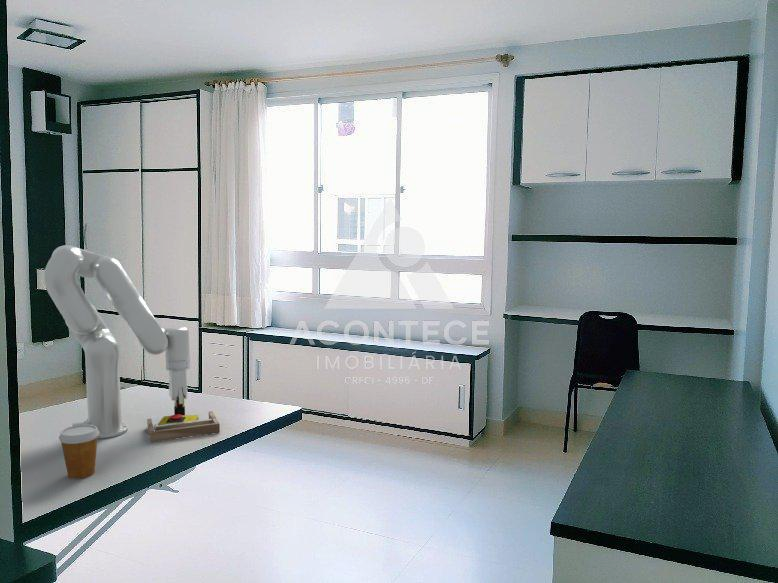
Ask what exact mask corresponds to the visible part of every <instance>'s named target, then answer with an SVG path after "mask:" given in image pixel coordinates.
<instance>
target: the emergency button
mask: <svg viewBox="0 0 778 583" xmlns="http://www.w3.org/2000/svg"><path fill="white" fill-rule="evenodd" d="M198 420H200V419H199V415H198V414H187V415H186V414H185V415H179V414H177V415H174V414H172V415H164V416H163V417H162V418H161V419H160V420H159V422H158V423H157V426H158V425H166V424H174V423H182V422H190V421H198Z"/></svg>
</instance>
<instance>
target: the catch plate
mask: <svg viewBox="0 0 778 583" xmlns="http://www.w3.org/2000/svg"><path fill="white" fill-rule="evenodd" d="M204 424H212V419H209V418H207V419H206V418H205V419H199V420H198V421H190V422H182V423H174V424H166V425H158V424H157V425H155V426H154V430H155V431H157V430H165V429H173V428H181V427H189V426H196V425H204Z"/></svg>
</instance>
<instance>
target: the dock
mask: <svg viewBox="0 0 778 583" xmlns="http://www.w3.org/2000/svg"><path fill="white" fill-rule="evenodd" d="M208 419H212V424H204V425H196V426H189V427H181V428H173V429H165V430H157V431H154V430H155V427H154V425H153V424H154V423H153V421H152V418H147V419H146V420H147V422H146V423H147V424H146V425H147V432H148V435H149V436H150V437H149V440H150V443H154V442H155V441H156V442H163V441H162V440H164V441H169V440H170V439H171V440H177V438H179V439H184V438H183V437H186V438H190V436H194V437H198V436H197V435H201V436H205V434H208V435H213V434H212V433H216V434H220V433H219V432H220V430H221V429H220V428H221V427H220V423H219V420H218V419H217V416H216V415H215V414H214V412H213V411H208ZM156 442H155V443H156Z"/></svg>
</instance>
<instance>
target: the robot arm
mask: <svg viewBox="0 0 778 583" xmlns="http://www.w3.org/2000/svg"><path fill="white" fill-rule="evenodd" d="M43 275H44V277H43V281H44V286H45V289H46V292H47V293H48V295H49V297H50V298H51V300H52V301H53V303H54V305H55V306H56V309H57V310H58V311H59V313H60V314H61V316H62V318H63V320H64V321H65V324H66V326H67V327H68V329H69V330H70V331H71V332H72V334H73V336H74V337H75V339H76V340H77V342H78V343H79V345H80V346H81V348H82V349H83V351H84V357H85V360H84V361H85V381H86V382H85V384H86V399H87V401H86V402H87V418H86V419H87V420H83V421H82V422H79V421H78V422H72V426H77V425H94V426H96V427H97V429H98V431H99V435H98V438H97V440H98V439H109V438H114V437H117V436H120V435H122V433H123V434H124V433H126V432H127V431H128V425H127V424H125V423H123V422H122V421H123V420H122V419H123V418H122V417H123V416H122V401H121V399H122V398H121V395H122V394H121V381H120V380H121V377H120V358H121V356H120V355H121V353H120V352H121V351H120V347H119V342H118V341H117V339H116V338H115V337H114V335H113V334H112V332H111V331H110V329H109V327H108V326H107V325H106V322H105V321H104V320H103V318H102V316H101V315H100V313H99V312H98V310H97V308H96V307H95V306H94V305H93V303H91V302H90V300H89V298H88V297H87V296H86V293H85V292H84V290H83V288H82V287H81V285H80V284H79V282H78V278H77V277H81V278H86V279H89V280H94V281H96V282H97V284H99V286H100V288H101V289H102V291H103V292H104V294H105V296H106V297H107V299H108V300H109V301H110V303H111V305H112V306H113V307H114V310H115V311H116V312H117V313H118V315H119V316H120V317H121V318H122V319H123V320H124V321H125V323H126V324H127V325H128V326H129V328H130V330H132V332H133V333H134V335H135V336H136V338H137V340H138V343H139V345H140V346H141V347H142V348H143V350H144V351H145V352H147V353H148V354H149V355H152V356H153V355H154V356H157V355H161V354H163V353H164V352H165V354H164V355H165V370H166V371H168V395H169V398H170V400H171V401H172V402H174V403H173V404H174V406H173V408H174V409H173V411H174V414H173V415H177V414H179V415H186V406H185V400H186V399H187V398H188V373H187V372H188V370H189V369H191V367H190V366H191V361H190V360H191V359H190V357H191V355H190V354H191V352H190V332H189V331H190V330H189V329H188V328H187V327H185V326H171V327H161V326H160V324H159V323H158V321H157V319H156V317H155V316H154V315H153V313H152V312H151V310H150V309H149V307H148V306H147V305H148V304H147V303H146V302H145V300H144V298H143V297H142V295H141V294H140V292H139V290H138V289H137V287H136V286H135V284H134V283H133V281H132V279H131V278H130V276H129V274H128V273H127V272H126V270H125V268H124V267H123V265H122V264H121V262H120V261H119V260H118V259H116V258H114V257H112V256H109V255H108V256H107V255H105V254H104V255H103V254H99V253H96V252H92V251H89V250H86V249H82V248H79V247H76V246H74V245H73V246H72V245H68V244H67V245H66V244H65V245H61V246H58V247H56V248H55V249H54V250H53V252H52V254H51V256H50V258H49V259H48V262H47V264H46V266H45V268H44V273H43ZM72 426H71V427H72Z"/></svg>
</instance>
